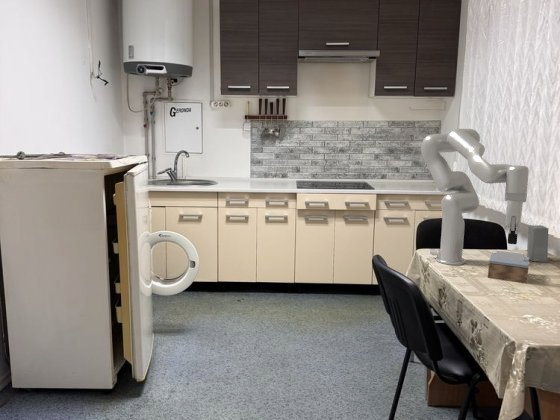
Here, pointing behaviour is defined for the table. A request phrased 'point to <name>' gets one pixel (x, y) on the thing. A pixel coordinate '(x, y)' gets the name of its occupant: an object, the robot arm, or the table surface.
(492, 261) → the cover
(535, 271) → the table surface
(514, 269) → the box
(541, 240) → the skincare box
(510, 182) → the robot arm
